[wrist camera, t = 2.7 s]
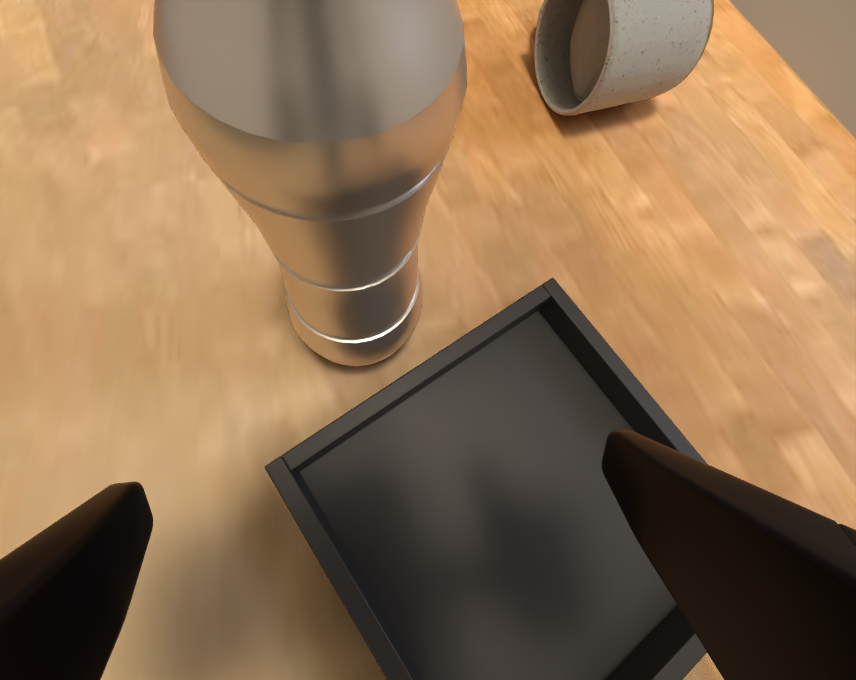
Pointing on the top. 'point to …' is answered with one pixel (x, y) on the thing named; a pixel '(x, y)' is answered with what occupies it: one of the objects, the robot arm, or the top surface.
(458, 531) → the tray
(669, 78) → the ceramic mug
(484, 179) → the top surface
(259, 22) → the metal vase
